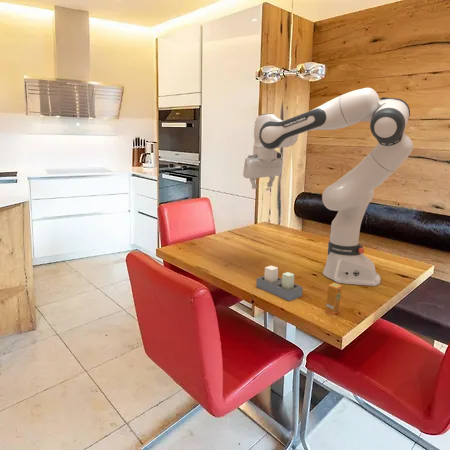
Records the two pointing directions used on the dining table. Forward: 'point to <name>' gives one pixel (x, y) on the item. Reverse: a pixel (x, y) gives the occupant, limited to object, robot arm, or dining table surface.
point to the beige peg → (288, 280)
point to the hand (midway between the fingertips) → (262, 187)
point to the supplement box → (333, 298)
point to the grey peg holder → (279, 289)
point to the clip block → (271, 274)
